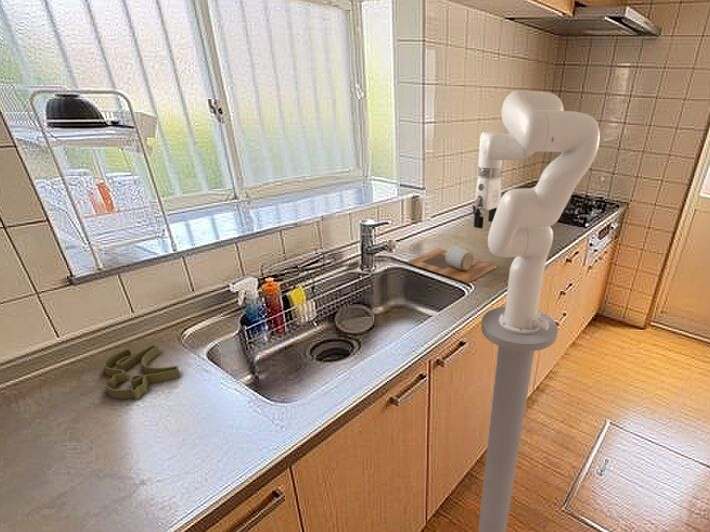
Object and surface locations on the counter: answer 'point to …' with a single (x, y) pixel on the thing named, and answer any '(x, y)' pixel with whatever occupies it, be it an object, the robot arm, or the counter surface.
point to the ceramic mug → (459, 258)
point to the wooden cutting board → (438, 264)
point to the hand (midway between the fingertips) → (485, 224)
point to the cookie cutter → (138, 381)
